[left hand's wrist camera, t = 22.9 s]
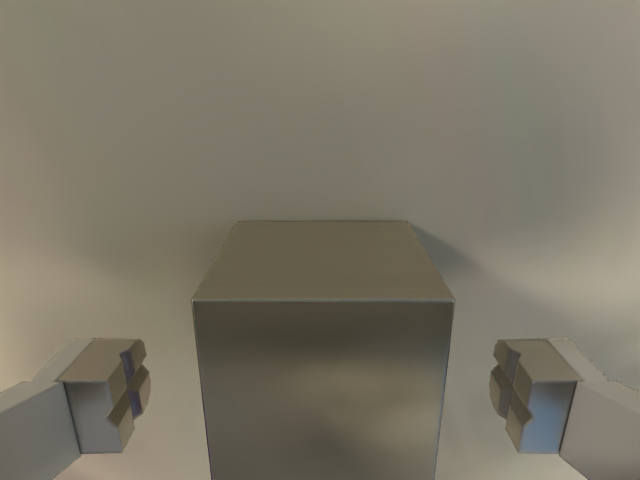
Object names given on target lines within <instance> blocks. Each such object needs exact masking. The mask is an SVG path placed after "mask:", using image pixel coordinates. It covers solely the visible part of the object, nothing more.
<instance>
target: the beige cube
mask: <svg viewBox="0 0 640 480" xmlns="http://www.w3.org/2000/svg"><path fill="white" fill-rule="evenodd" d="M191 304H192V313H193V322H194V331H195V339H196V348H197V357H198V366H199V375H200V384H201V393H202V401H203V410H204V419H205V428H206V437H207V446H208V455H209V463H210V472H211V480H434V478H435V469H436V461H437V452H438V444H439V435H440V427H441V418H442V410H443V401H444V393H445V384H446V376H447V367H448V358H449V350H450V341H451V333H452V324H453V316H454V307H455V299H454V297H453V295H452V294H451V292H450V291H449V289H448V287H447V286H446V284H445V282H444V281H443V279H442V277H441V276H440V274H439V272H438V271H437V269H436V267H435V266H434V264H433V263H432V261H431V259H430V258H429V256H428V254H427V253H426V251H425V249H424V248H423V246H422V244H421V243H420V241H419V240H418V238H417V236H416V235H415V233H414V231H413V230H412V228H411V226H410V225H409V223H408V222H406V221H238V222H237V223H236V225H235V227H234V228H233V230H232V232H231V233H230V235H229V237H228V238H227V240H226V242H225V243H224V245H223V247H222V248H221V250H220V252H219V254H218V255H217V257H216V259H215V260H214V262H213V264H212V265H211V267H210V269H209V270H208V272H207V274H206V276H205V277H204V279H203V281H202V282H201V284H200V286H199V287H198V289H197V291H196V292H195V294H194V296H193V297H192V300H191Z"/></svg>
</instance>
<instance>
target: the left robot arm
mask: <svg viewBox="0 0 640 480" xmlns="http://www.w3.org/2000/svg"><path fill="white" fill-rule="evenodd" d="M145 357H146V350H145V345H144V342H143V341H142V340H141V339H117V338H75V339H71V340H70V341H69V342H68V343H67V344H66V345H65V346H64V347H63V348H62V349H61V350H60V351H59V352H58V353H57V354H56V355H55V356H54V357H53V358H52V359H51V361H50V362H49V363H48V364H47V365H46V366H45V367H44V368H43V369H42V370H41V371H40V372H39V373H38V374H37V375H36V376H35V377H34V378H33V379H32V380H31V381H30V382H21V383H19V384H17V385H15V386H12V387H10V388H8V389H6V390H4V391H2V392H0V480H52V479H53V478H54V477H56V476H57V475H58V474H59V473H61V472H62V471H63V470H64V469H66V468H67V467H68V466H69V465H70V464H72V463H73V462H74V461H75V460H77V459H78V458H79V457H80V456H81V454H99V453H122V451H123V450H124V448H125V446H126V444H127V442H128V440H129V438H130V437H131V435H132V433H133V431H134V429H135V428H134V422H133V420H134V419H136V418H137V417H139V416H140V415H141V414H143V412H144V410H145V408H146V406H147V404H148V399H149V395H150V384H151V381H150V374H149V371H148V370H147V369H146V368H145V367H144V366H143V365H142V362H143V360H144V359H145ZM494 357H495V359H496V360H497V362H498V365H497V366H496V367H495V368H494V369H493V370H492V371H491V374H490V382H489V387H490V397H491V400H492V403H493V406H494V408H495V410H496V412H497V414H499V415H500V416H501V417H503V418H504V419H506V420H507V422H506V428H505V429H506V431H507V433H508V435H509V437H510V438H511V440H512V442H513V444H514V446H515V448H516V450H517V451H518V453H540V454H559V456H560V457H561V458H562V459H564V460H565V461H566V462H567V463H568V464H570V465H571V466H572V467H573V468H575V469H576V470H577V471H578V472H580V473H581V474H582V475H583V476H585V477H586V478H587V479H588V480H640V392H638V391H636V390H634V389H632V388H630V387H628V386H625V385H623V384H621V383H619V382H610V381H609V380H608V379H607V378H606V377H605V376H604V375H603V374H602V373H601V372H600V371H599V370H598V369H597V368H596V367H595V366H594V365H593V364H592V363H591V361H590V360H589V359H588V358H587V357H586V356H585V355H584V354H583V353H582V352H581V351H580V350H579V349H578V348H577V347H576V346H575V345H574V344H573V343H572V342H571V341H570V340H568V339H566V338H542V339H507V340H498V341H497V343H496V345H495V349H494Z"/></svg>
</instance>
